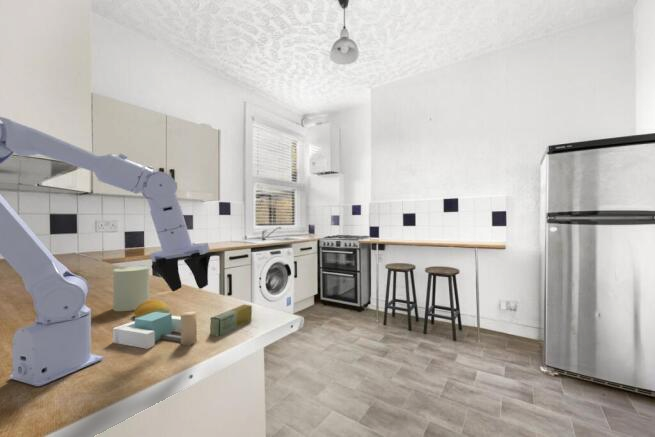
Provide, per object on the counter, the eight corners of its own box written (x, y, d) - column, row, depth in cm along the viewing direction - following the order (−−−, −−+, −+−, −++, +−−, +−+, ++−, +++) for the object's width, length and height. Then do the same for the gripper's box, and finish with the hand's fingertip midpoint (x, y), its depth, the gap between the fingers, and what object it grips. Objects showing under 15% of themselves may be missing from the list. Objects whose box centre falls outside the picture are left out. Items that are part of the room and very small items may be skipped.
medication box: (218, 337, 64) (218, 319, 64) (209, 335, 65) (209, 317, 65) (252, 320, 75) (252, 304, 75) (243, 318, 76) (243, 303, 76)
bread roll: (137, 323, 73) (137, 307, 73) (132, 315, 79) (132, 300, 80) (173, 316, 78) (173, 301, 78) (166, 309, 85) (165, 295, 85)
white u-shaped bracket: (147, 348, 57) (147, 333, 58) (113, 342, 61) (112, 328, 61) (187, 330, 67) (187, 317, 67) (155, 325, 70) (155, 313, 70)
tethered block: (184, 348, 58) (184, 318, 58) (134, 339, 62) (134, 311, 62) (203, 338, 62) (203, 310, 62) (155, 331, 67) (155, 305, 67)
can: (130, 302, 92) (130, 264, 92) (156, 302, 91) (156, 265, 91) (104, 310, 83) (104, 269, 83) (133, 312, 82) (133, 269, 82)
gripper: (211, 219, 62) (228, 277, 64) (162, 229, 67) (179, 283, 69) (187, 226, 56) (206, 291, 58) (134, 237, 60) (154, 296, 62)
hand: (190, 288), depth 63 cm, fingers open, 7 cm apart
